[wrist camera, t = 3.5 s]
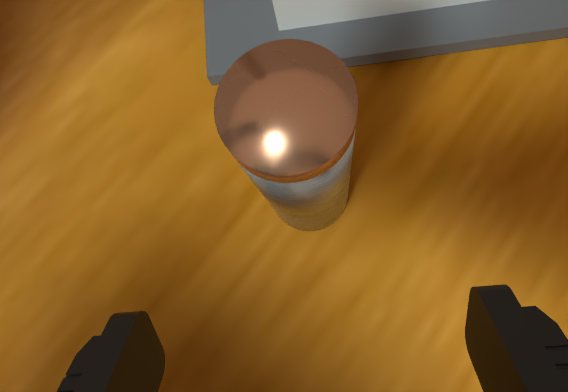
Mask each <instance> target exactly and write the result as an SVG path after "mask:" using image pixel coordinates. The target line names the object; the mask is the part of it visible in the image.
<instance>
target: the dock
mask: <svg viewBox="0 0 568 392" xmlns="http://www.w3.org/2000/svg"><path fill="white" fill-rule="evenodd" d="M204 13H205V37H206V62H207V77H208V79H209V81H210V82H211V84H212V85H217V84H220V82H221V80H222V78H223V77H224V75H225V73H226V72H227V70H228V69H229V68H230V67H231V65H232V64H233V63H234V62H235V61H236V60H237V59H238V58H240V57H241V56H242V55H243V54H245V53H246V52H248V51H249V50H251V49H253V48H255V47H257V46H259V45H261V44H264V43H267V42H270V41H275V40H281V39H300V40H306V41H310V42H313V43H316V44H318V45H321V46H323V47H325V48H327V49H328V50H330V51H331V52H333V53H334V54H335V55H337V56H338V57H339V58H340V59H341V60H342V61H343V62H344V64H345V65H346V66H347V67H351V66H358V65H366V64H373V63H381V62H388V61H396V60H403V59H410V58H418V57H425V56H433V55H440V54H448V53H455V52H463V51H470V50H477V49H485V48H492V47H500V46H507V45H515V44H522V43H530V42H537V41H545V40H552V39H559V38H567V37H568V0H204Z"/></svg>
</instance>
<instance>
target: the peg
mask: <svg viewBox="0 0 568 392" xmlns="http://www.w3.org/2000/svg"><path fill="white" fill-rule="evenodd" d="M357 113H358V93H357V88H356V84H355V81H354V79H353V76H352V75H351V73H350V71H349V69H348V68H347V66H346V65H345V64H344V62H343V61H342V60H341V59H340V58H339V57H338V56H337V55H335V54H334V53H333V52H331V51H330V50H328V49H327V48H325V47H323V46H321V45H318V44H316V43H313V42H310V41H306V40H300V39H281V40H275V41H270V42H267V43H264V44H261V45H259V46H257V47H255V48H253V49H251V50H249V51H248V52H246V53H245V54H243V55H242V56H241V57H240V58H238V59H237V60H236V61H235V62H234V63H233V64H232V65H231V67H230V68H229V69H228V70H227V72H226V73H225V75H224V77H223V78H222V80H221V82H220V85H219V87H218V90H217V93H216V97H215V103H214V116H215V123H216V127H217V130H218V133H219V135H220V137H221V139H222V141H223V143H224V144H225V146H226V147H227V148H228V150H229V151H230V152H231V154H232V155H233V156H234V158H235V159H236V160H237V162H238V163H239V164H240V165H241V167H242V168H243V169H244V171H245V172H246V173H247V175H248V176H249V177H250V179H251V180H252V181H253V182H254V184H255V185H256V186H257V188H258V189H259V190H260V192H261V193H262V194H263V195H264V197H265V198H266V199H267V201H268V202H269V203H270V205H271V206H272V207H273V209H274V210H275V211H276V212H277V214H278V215H279V216H280V218H281V219H282V220H283V221H284V222H285V223H287V224H288V225H289V226H291V227H293V228H296V229H298V230H303V231H316V230H321V229H324V228H326V227H328V226H330V225H331V224H333V223H334V222H335V221H336V220H337V219H338V218H339V217H340V216H341V214H342V213H343V211H344V209H345V207H346V204H347V199H348V191H349V182H350V174H351V165H352V157H353V148H354V139H355V131H356V122H357Z"/></svg>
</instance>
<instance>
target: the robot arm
mask: <svg viewBox="0 0 568 392" xmlns="http://www.w3.org/2000/svg"><path fill="white" fill-rule="evenodd" d="M465 339H466V345H467V349H468V353H469V356H470V359H471V361H472V364H473V366H474V369H475V371H476V374H477V376H478V379H479V382H480V384H481V387H482V389H483V392H568V339H567V338H566V336H565V335H564V333H563V332H562V330H561V329H560V327H559V326H558V324H557V323H556V322H555V321H553V320H552V319H551V318H550V317H549V316H547V315H546V314H545V313H544V312H542V311H541V310H540V309H539V308H537V307H536V306H528V307H521V305H520V304H519V302H518V300H517V299H516V297H515V295H514V293H513V292H512V290H511V289H510V287H509V286H507V285H492V286H479V287H472V288H471V290H470V294H469V302H468V310H467V318H466V326H465ZM164 367H165V355H164V350H163V347H162V345H161V343H160V340H159V338H158V336H157V334H156V331H155V329H154V327H153V325H152V322H151V320H150V318H149V316H148V314H147V313H146V312H145V311H137V312H124V313H115V314H113V315H112V316H111V317H110V319H109V321H108V323H107V325H106V327H105V329H104V331H103V333H102V335H101V336H93V337H92V338H91V339H90V340H89V341H88V342H87V344H86V345H85V346H84V347H83V348H82V349H81V350H80V351H79V352H78V353H77V354H76V356H75V358H74V360H73V362H72V364H71V365H70V367H69V369H68V371H67V373H66V378H64V379H63V381H62V382H61V384H60V386H59V388H58V390H57V392H158V389H159V386H160V383H161V380H162V376H163V373H164Z"/></svg>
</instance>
